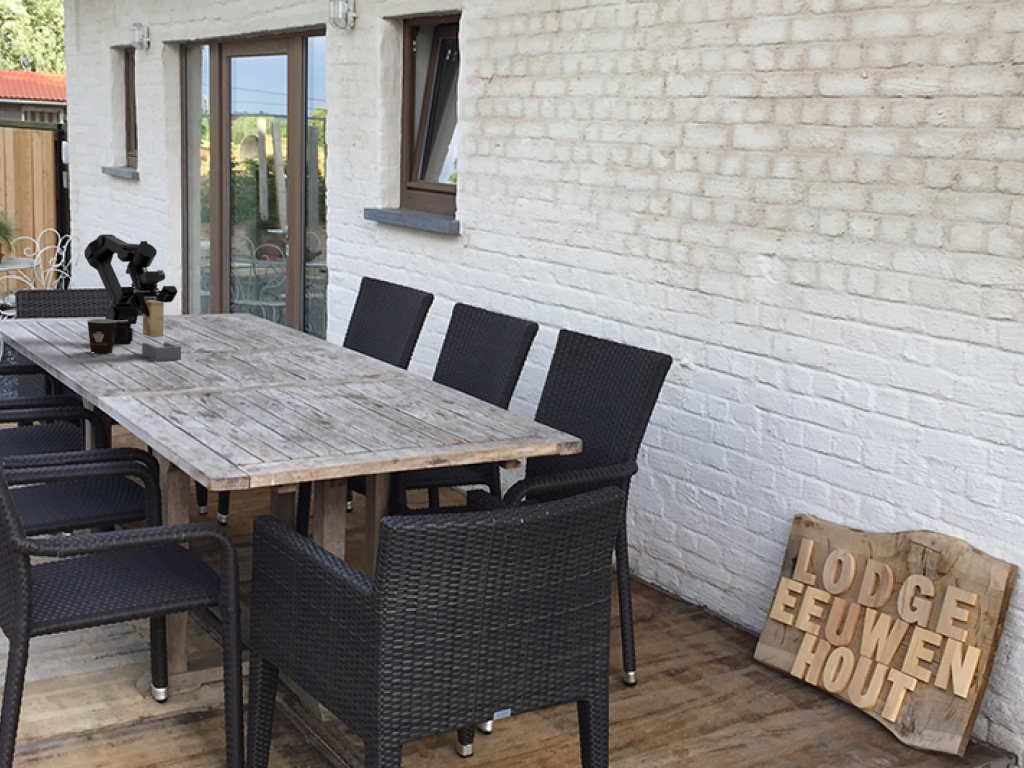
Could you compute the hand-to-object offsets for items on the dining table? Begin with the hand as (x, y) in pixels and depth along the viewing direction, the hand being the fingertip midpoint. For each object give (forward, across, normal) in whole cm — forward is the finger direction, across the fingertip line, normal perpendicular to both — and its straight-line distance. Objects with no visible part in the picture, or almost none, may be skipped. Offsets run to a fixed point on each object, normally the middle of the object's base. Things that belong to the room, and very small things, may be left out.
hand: (155, 315), depth 382 cm
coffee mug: (+4, -13, +14) cm, 19 cm away
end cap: (+13, -1, +4) cm, 14 cm away
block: (+4, 0, +6) cm, 7 cm away
